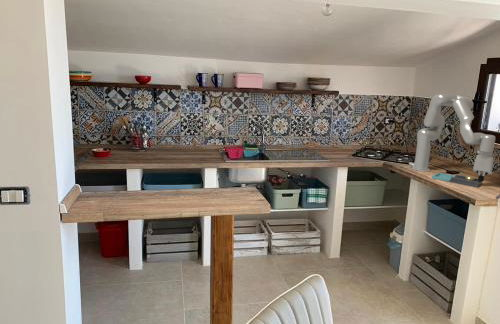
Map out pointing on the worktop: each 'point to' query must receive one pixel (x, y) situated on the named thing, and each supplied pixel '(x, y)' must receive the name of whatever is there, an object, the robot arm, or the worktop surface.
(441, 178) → the tray
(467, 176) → the brass puck
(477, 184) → the slot plate
